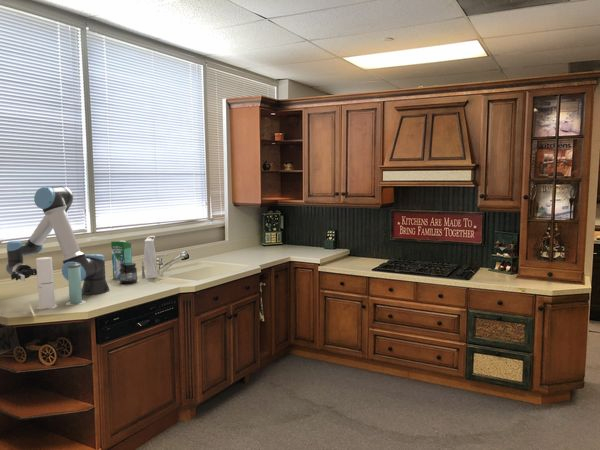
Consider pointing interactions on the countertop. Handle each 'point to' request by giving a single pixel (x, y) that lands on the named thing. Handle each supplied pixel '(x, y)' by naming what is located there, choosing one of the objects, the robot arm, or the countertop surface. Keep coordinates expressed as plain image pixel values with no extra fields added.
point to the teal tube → (74, 283)
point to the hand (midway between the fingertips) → (38, 275)
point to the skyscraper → (149, 259)
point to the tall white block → (45, 282)
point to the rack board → (66, 304)
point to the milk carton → (120, 256)
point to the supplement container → (128, 273)
